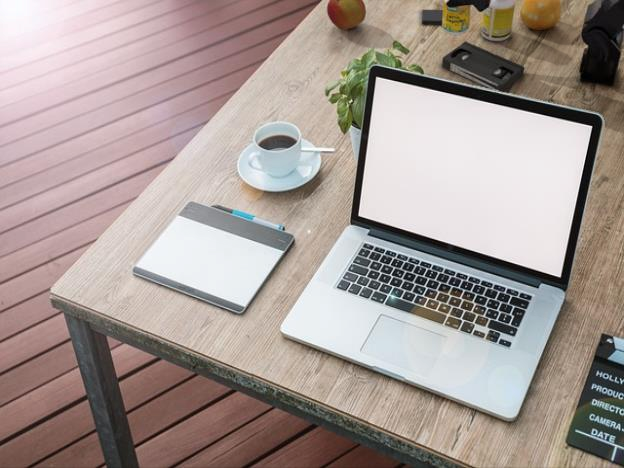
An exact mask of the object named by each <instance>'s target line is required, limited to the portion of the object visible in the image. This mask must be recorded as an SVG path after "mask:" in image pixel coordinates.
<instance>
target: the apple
mask: <svg viewBox="0 0 624 468" xmlns="http://www.w3.org/2000/svg"><path fill="white" fill-rule="evenodd" d="M326 13H327V16H328V18H329V20H330V21H331V23H332V24H333V25H334V26H336V28H338V29H341V30H344V31H345V30H349V29H352V28H353V29H354V28H355V27H357V26H358V25H360V24H362V23H363V22H364V20H365V19H366V14H367V8H366V4H365V2H364V0H329V1H328V2H327V6H326Z"/></svg>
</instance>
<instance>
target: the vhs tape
mask: <svg viewBox="0 0 624 468" xmlns="http://www.w3.org/2000/svg"><path fill="white" fill-rule="evenodd" d="M441 67H442V68H444V69H446V70H448V71H450V72H453V73H454V74H457V75H458V76H461V77H463V78H465V79H467V80H470V81H472V82H475V83H476V84H479V85H480V86H483V87H485V88H487V89H489V88H490V89H489V90H491V89H495V90H499V91H503V92H504V91H505V90H507V89H508V88H509V87H511V86H512V85H513V84H515V83H516V82H517V81H518V80H520V79H521V78H522V77H523V76H524V73H525V69H526V67H525V66H524V65H520V64H519V63H516V62H514V61H512V60H509V59H507V58H505V57H502V56H500V55H498V54H494V53H493V52H491V51H489V50H487V49H484V48H482V47H479V46H477V45H475V44H472V43H470V42H468V41H466V40H465V41H464V42H462V43H461V44H459V45H458V46H456V48H454V49H453V50H451V51H449V52H448V53H447V54H446V55H444V56H443V57H442V62H441Z"/></svg>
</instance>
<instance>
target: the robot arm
mask: <svg viewBox="0 0 624 468" xmlns="http://www.w3.org/2000/svg"><path fill="white" fill-rule="evenodd" d="M490 3H491V0H448V1H447V3H446V5H447V6H448V7H449V8H452V7H459V6H466V5H471V6H473V7H474V9H476V11H477V12H478V13H483V11H484V10H485V9H487V8H488V7H489V6H490ZM586 7H587V8H586V12H585V14H584V18H583V23H582V28H581V33H580V34H581V35H580V36H581V37H580V38H581V40H582V42H583V43H584V44H585V45H586V46H587V47H584V49H583V52H582V56H581V60H580V66H579V70H578V73H579V74H580V77H579V80H580V81H581V82H586V83H592V84H598V85H604V86H610V87H613V86H614V85H615V83H616V78H617V73H618V67H619V66H620V65H619V64H620V60H621V57H622V52H623V43H624V0H594V1H593V2H592V3H589V4H588V5H587V6H586Z"/></svg>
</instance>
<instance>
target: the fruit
mask: <svg viewBox="0 0 624 468" xmlns="http://www.w3.org/2000/svg"><path fill="white" fill-rule="evenodd" d="M519 15H520V16H519V17H520V20H521V22H522V23H523V24H524V25H525V26H527V27H528V28H529V29H532V30H534V31H544V30H549V29H551V28H552V27H554V26H555V25H556V24H557V23H558V22H559V21H560V18H561V15H562V4H561V1H560V0H523V2H522V4H521V6H520V9H519Z"/></svg>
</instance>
